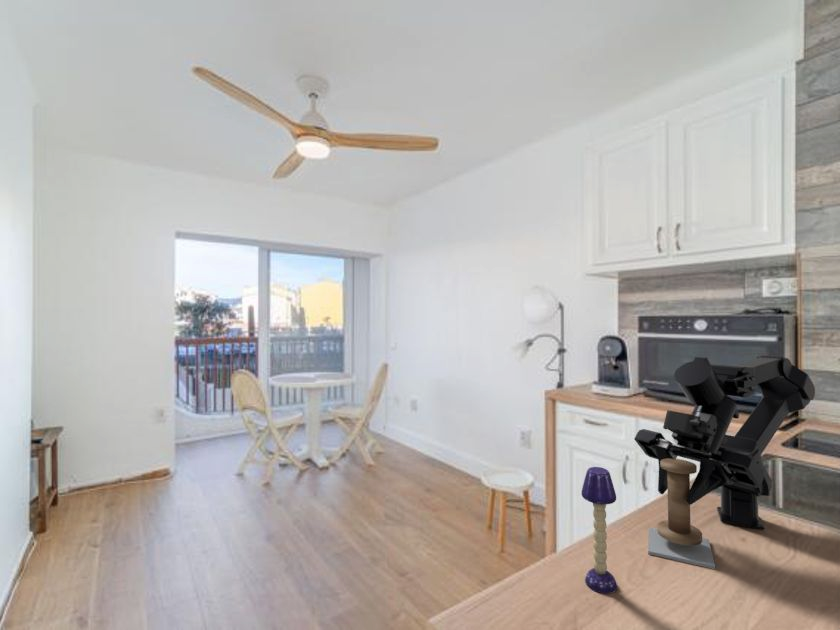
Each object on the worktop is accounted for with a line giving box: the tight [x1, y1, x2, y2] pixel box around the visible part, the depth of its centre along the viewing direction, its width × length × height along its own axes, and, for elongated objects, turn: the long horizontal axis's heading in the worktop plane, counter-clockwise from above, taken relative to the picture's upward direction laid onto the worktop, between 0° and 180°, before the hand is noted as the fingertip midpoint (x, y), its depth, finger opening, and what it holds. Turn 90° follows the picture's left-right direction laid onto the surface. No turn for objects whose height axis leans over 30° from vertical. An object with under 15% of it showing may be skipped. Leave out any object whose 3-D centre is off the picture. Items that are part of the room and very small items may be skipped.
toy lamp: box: [581, 466, 618, 594], centre depth 62 cm, size 5×5×17 cm
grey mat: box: [647, 527, 716, 570], centre depth 72 cm, size 9×9×1 cm
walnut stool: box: [657, 458, 703, 546], centre depth 72 cm, size 6×6×12 cm
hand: (673, 497), depth 71 cm, fingers closed on walnut stool, 4 cm apart
